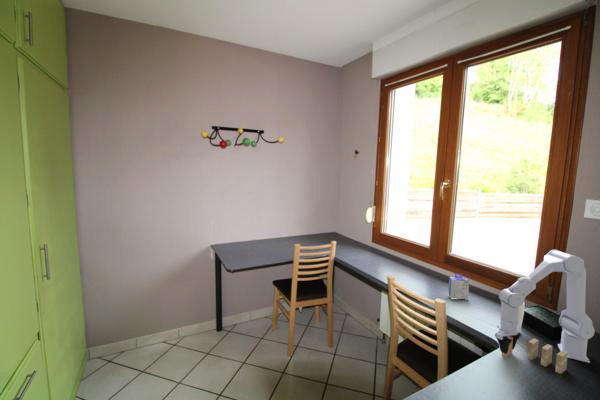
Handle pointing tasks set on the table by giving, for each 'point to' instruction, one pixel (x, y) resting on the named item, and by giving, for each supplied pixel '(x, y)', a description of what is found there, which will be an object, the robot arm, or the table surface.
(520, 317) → the drinking glass
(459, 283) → the ink cartridge box
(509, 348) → the salmon orange block
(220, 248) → the table surface
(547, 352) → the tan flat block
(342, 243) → the table surface
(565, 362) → the domino
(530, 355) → the domino
